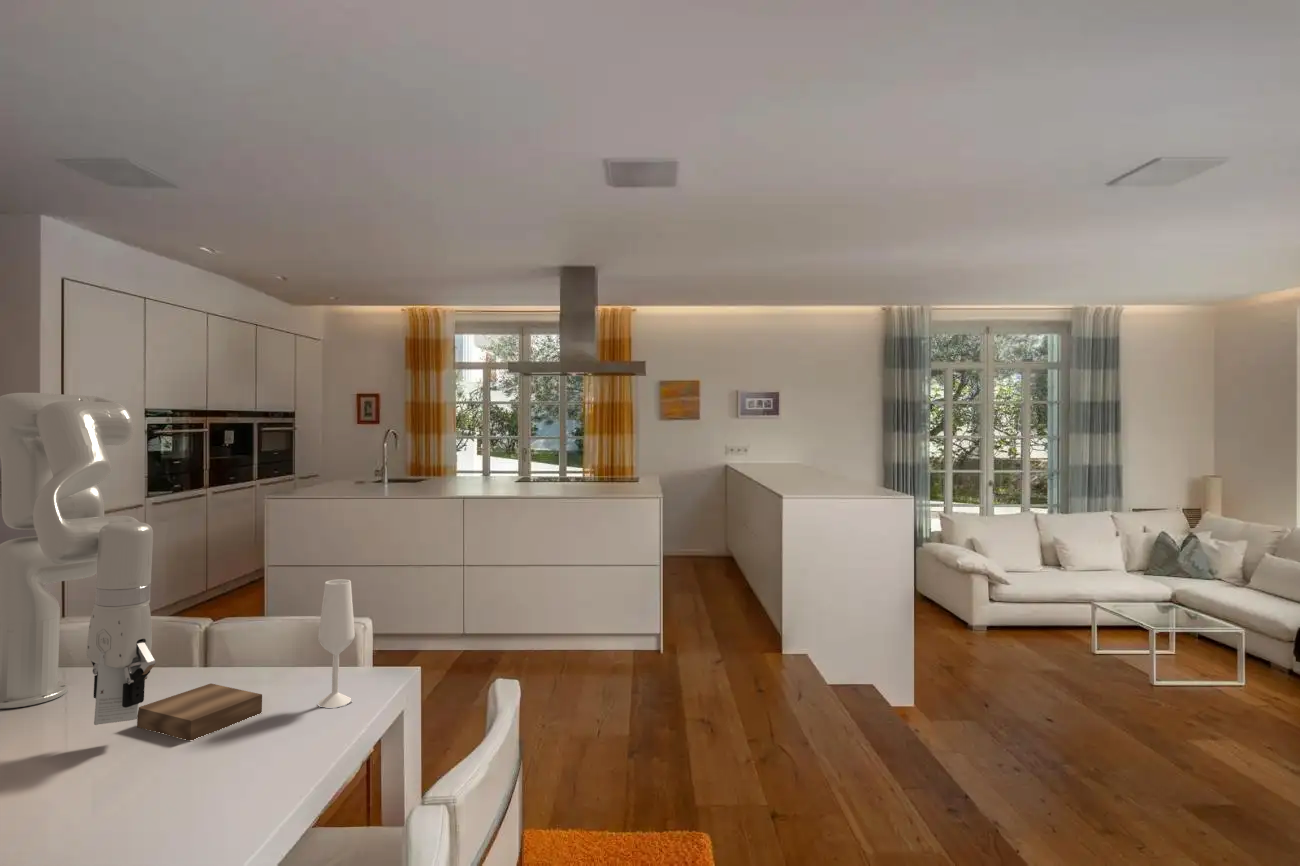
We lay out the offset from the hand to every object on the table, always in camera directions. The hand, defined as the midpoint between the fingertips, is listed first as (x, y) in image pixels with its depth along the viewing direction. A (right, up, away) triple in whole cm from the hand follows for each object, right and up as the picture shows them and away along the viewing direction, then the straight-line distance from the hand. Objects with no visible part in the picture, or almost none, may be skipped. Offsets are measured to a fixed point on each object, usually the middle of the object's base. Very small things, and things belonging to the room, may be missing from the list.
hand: (118, 699), depth 122 cm
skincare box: (0, -3, 0) cm, 3 cm away
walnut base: (+7, -8, +11) cm, 15 cm away
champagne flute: (+28, -9, +21) cm, 36 cm away
